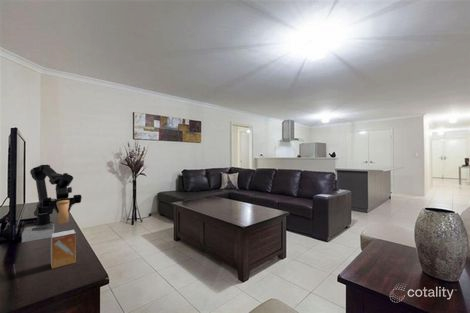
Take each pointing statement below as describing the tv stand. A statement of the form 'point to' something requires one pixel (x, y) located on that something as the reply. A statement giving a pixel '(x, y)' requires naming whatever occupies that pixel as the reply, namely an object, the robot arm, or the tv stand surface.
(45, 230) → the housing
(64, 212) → the plug
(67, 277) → the tv stand surface
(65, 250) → the small box
